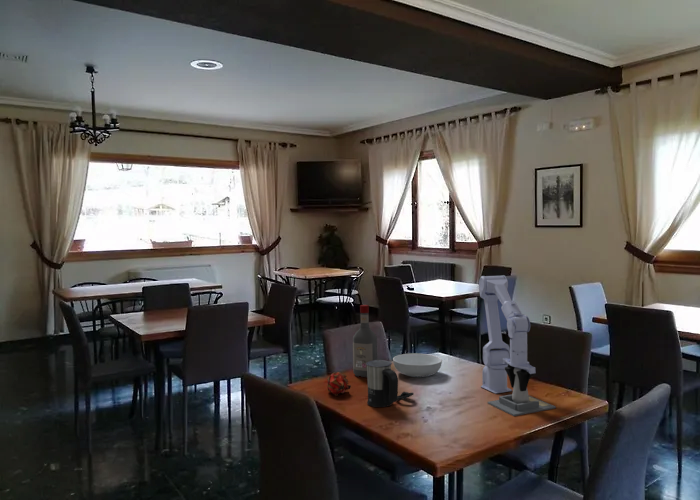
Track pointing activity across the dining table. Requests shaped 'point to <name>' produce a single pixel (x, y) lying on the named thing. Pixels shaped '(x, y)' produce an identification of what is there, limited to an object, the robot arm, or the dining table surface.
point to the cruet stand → (520, 405)
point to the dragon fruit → (337, 383)
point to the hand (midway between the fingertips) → (518, 389)
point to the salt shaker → (517, 394)
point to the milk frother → (383, 384)
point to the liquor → (364, 344)
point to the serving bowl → (417, 364)
